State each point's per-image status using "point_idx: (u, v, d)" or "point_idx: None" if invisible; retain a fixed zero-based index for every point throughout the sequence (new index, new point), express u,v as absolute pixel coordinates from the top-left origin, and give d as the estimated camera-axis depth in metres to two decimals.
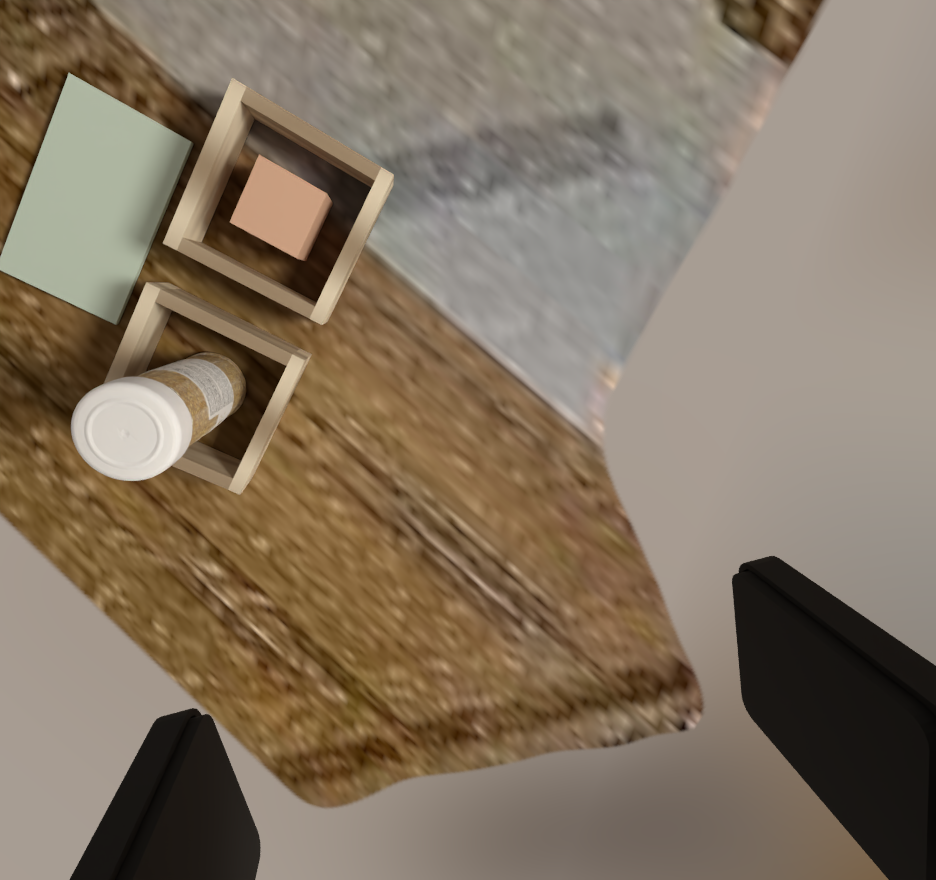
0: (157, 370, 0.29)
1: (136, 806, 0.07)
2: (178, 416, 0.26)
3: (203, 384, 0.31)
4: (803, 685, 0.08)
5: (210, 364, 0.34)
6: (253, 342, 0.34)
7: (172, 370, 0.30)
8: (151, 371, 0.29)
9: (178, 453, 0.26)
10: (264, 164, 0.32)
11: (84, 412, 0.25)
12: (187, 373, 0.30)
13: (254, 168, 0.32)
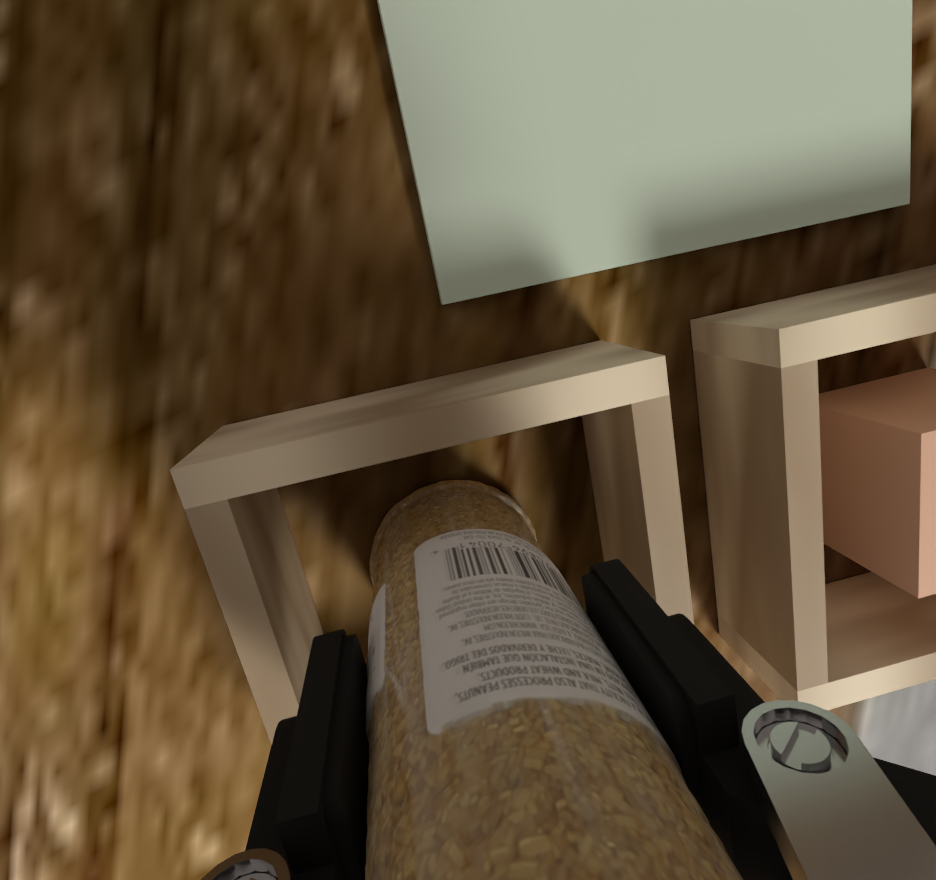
0: (653, 736, 0.07)
1: (325, 697, 0.09)
2: None
3: None
4: None
5: None
6: None
7: (675, 758, 0.08)
8: (641, 728, 0.07)
9: None
10: None
11: None
12: None
13: None
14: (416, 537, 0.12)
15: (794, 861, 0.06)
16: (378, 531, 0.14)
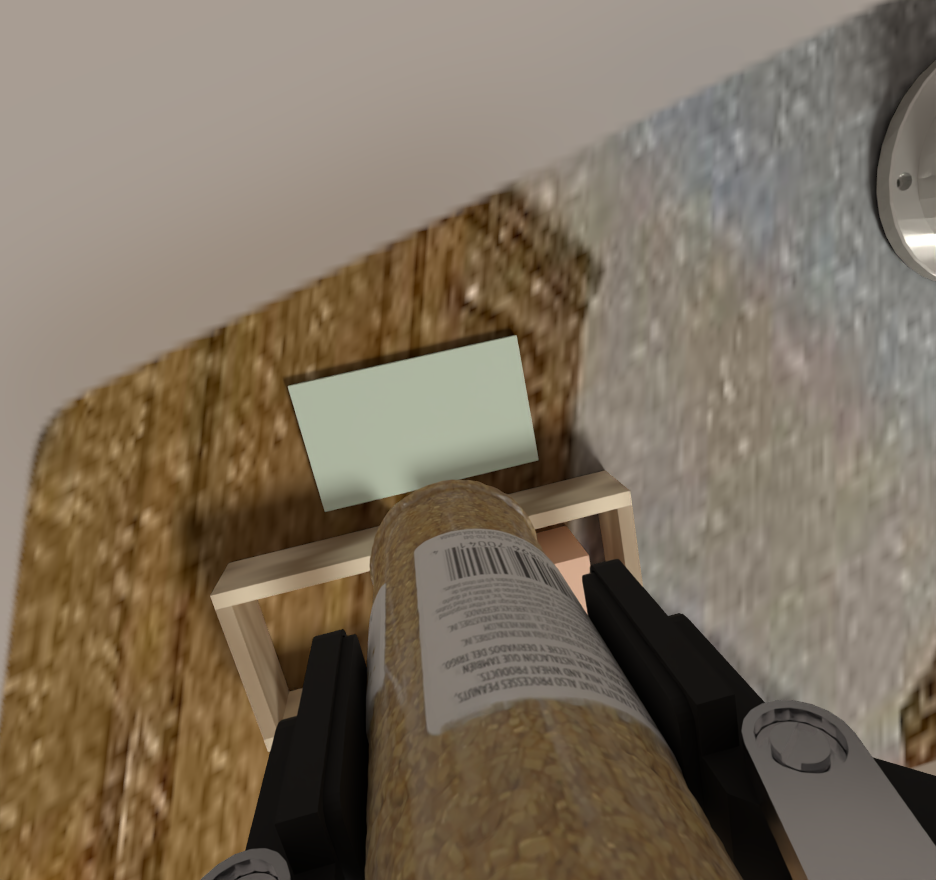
0: (654, 736, 0.07)
1: (325, 697, 0.09)
2: None
3: None
4: None
5: None
6: None
7: (675, 759, 0.08)
8: (641, 729, 0.07)
9: None
10: (584, 564, 0.30)
11: None
12: None
13: (574, 560, 0.30)
14: (416, 537, 0.12)
15: (794, 861, 0.06)
16: (378, 531, 0.14)
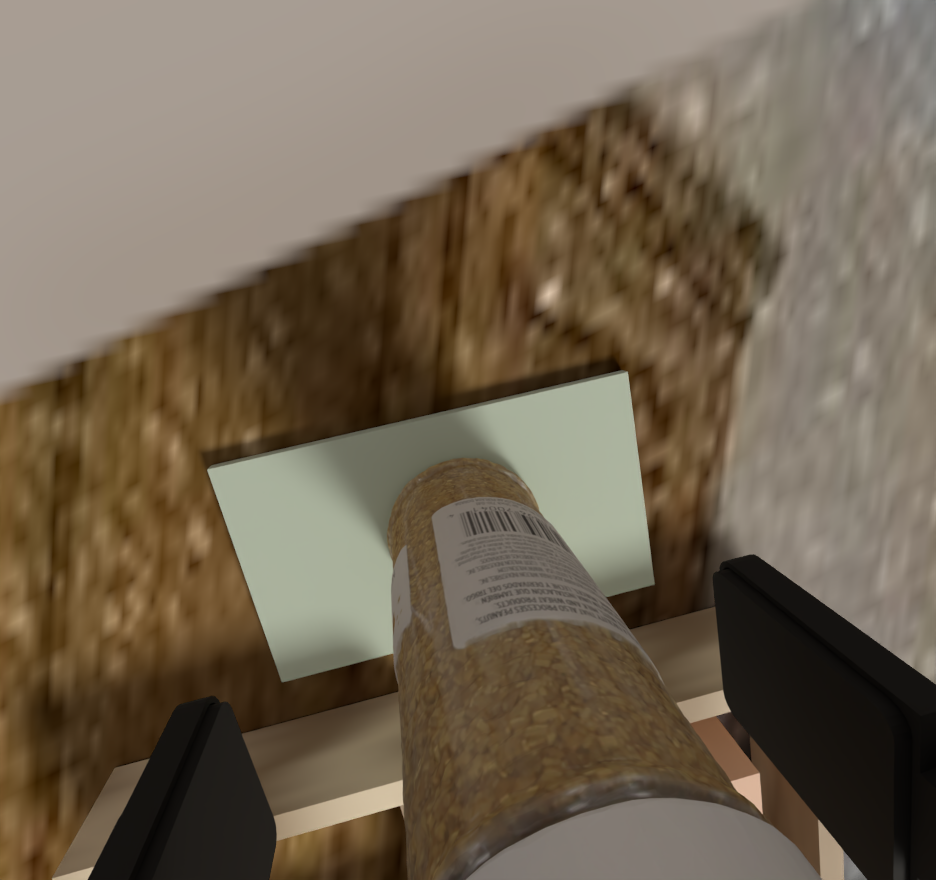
0: (641, 654, 0.09)
1: (161, 788, 0.08)
2: None
3: None
4: (779, 681, 0.09)
5: None
6: None
7: None
8: (630, 646, 0.09)
9: None
10: (750, 788, 0.17)
11: None
12: None
13: (735, 782, 0.16)
14: (432, 505, 0.14)
15: None
16: (395, 504, 0.16)
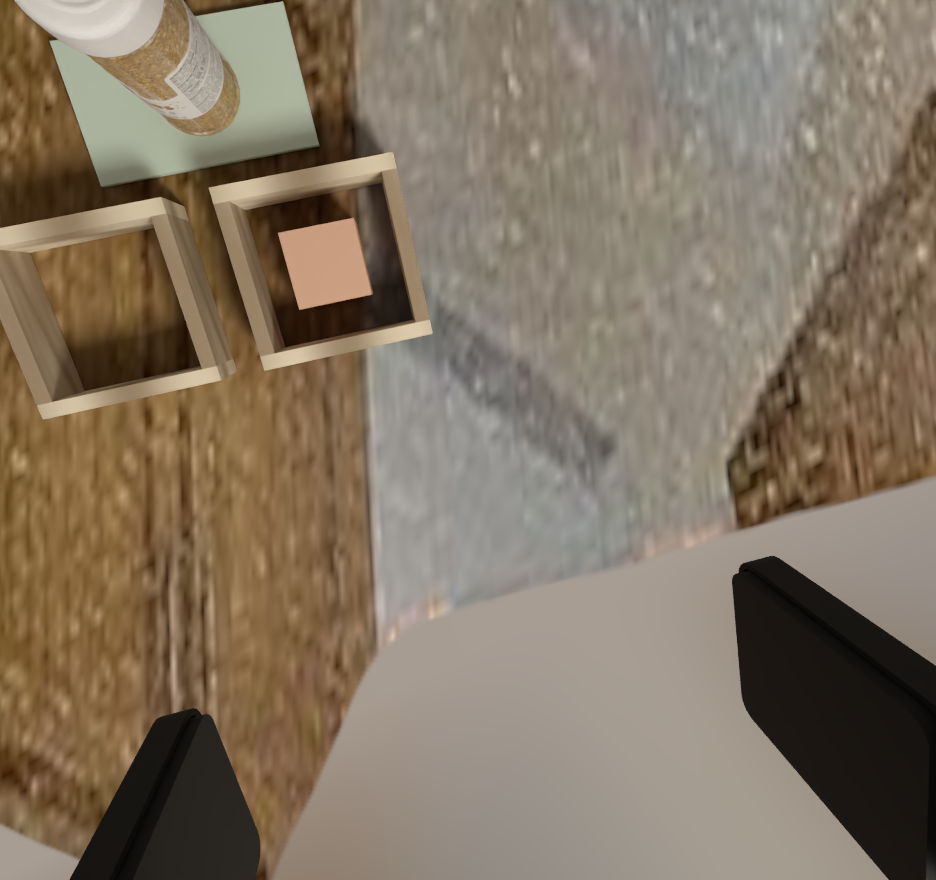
0: None
1: (136, 806, 0.07)
2: (142, 11, 0.19)
3: (196, 50, 0.24)
4: (803, 685, 0.08)
5: (220, 61, 0.27)
6: (195, 326, 0.31)
7: (182, 0, 0.23)
8: None
9: (99, 38, 0.19)
10: (349, 227, 0.30)
11: None
12: (192, 22, 0.23)
13: (339, 222, 0.30)
14: None
15: None
16: None
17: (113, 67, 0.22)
